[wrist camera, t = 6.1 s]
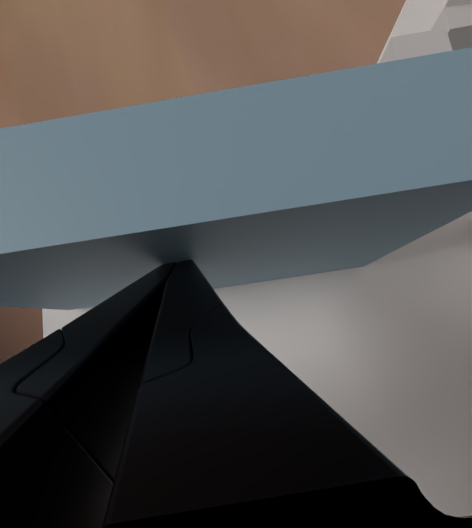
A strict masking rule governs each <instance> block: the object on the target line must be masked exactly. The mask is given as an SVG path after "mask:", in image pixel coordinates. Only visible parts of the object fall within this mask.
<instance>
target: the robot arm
mask: <svg viewBox="0 0 472 528" xmlns="http://www.w3.org/2000/svg"><path fill="white" fill-rule="evenodd" d="M0 528H472V518H459V517H454V516H450V515H445V514H443V513H442V512H441V511H439V510H438V509H436V508H435V507H434V506H433V505H432V504H431V503H430V502H429V501H428V500H427V499H426V498H425V497H424V495H423V494H422V492H421V491H420V489H419V487H418V485H417V484H416V482H415V481H414V480H413V479H411V478H410V477H409V476H407V475H406V474H405V473H404V472H403V471H402V470H401V469H399V468H398V467H397V466H396V465H395V464H394V463H393V462H392V461H391V460H389V459H388V458H387V457H386V456H385V455H384V454H383V453H382V452H381V451H379V450H378V449H377V448H376V447H375V446H374V445H373V444H372V443H371V442H369V441H368V440H367V439H366V438H365V437H364V436H363V435H362V434H361V433H359V432H358V431H357V430H356V429H355V428H354V427H353V426H352V425H351V424H349V423H348V422H347V421H346V420H345V419H344V418H343V417H342V416H341V415H339V414H338V413H337V412H336V411H335V410H334V409H333V408H332V407H331V406H329V405H328V404H327V403H326V402H325V401H324V400H323V399H322V398H321V397H319V396H318V395H317V394H316V393H315V392H314V391H313V390H312V389H311V388H309V387H308V386H307V385H306V384H305V383H304V382H303V381H302V380H301V379H299V378H298V377H297V376H296V375H295V374H294V373H293V372H292V371H291V370H289V369H288V368H287V367H286V366H285V365H284V364H283V363H282V362H281V361H279V360H278V359H277V358H276V357H275V356H274V355H273V354H272V353H271V352H269V351H268V350H267V349H266V348H265V347H264V346H263V345H262V344H261V343H259V342H258V341H257V340H256V339H255V338H254V337H253V336H252V335H251V334H250V333H249V332H248V331H246V330H245V329H244V328H243V327H242V326H241V325H240V324H239V322H238V321H237V320H236V319H235V318H234V316H233V315H232V314H231V313H230V311H229V310H228V308H227V307H226V306H225V305H224V303H223V302H222V301H221V299H220V298H219V296H218V295H217V293H216V292H215V291H214V289H213V288H212V286H211V285H210V283H209V282H208V281H207V279H206V278H205V276H204V275H203V273H202V272H201V271H200V269H199V268H198V266H197V265H196V264H195V262H194V261H193V260H186V261H180V262H178V263H176V262H172V263H166V264H162V265H160V266H159V267H157V268H155V269H154V270H152V271H151V272H149V273H147V274H146V275H144V276H143V277H141V278H140V279H138V280H136V281H135V282H133V283H132V284H130V285H128V286H127V287H125V288H124V289H122V290H121V291H119V292H117V293H116V294H114V295H113V296H111V297H109V298H108V299H106V300H105V301H103V302H101V303H100V304H98V305H97V306H95V307H94V308H92V309H90V310H89V311H87V312H86V313H84V314H82V315H81V316H79V317H78V318H76V319H75V320H73V321H71V322H70V323H68V324H67V325H65V326H63V327H62V330H61V329H58V330H56V331H54V332H53V333H51V334H50V335H48V336H46V337H45V338H43V339H42V340H40V341H38V342H37V343H35V344H33V345H32V346H30V347H28V348H27V349H25V350H23V351H22V352H20V353H19V354H17V355H15V356H13V357H12V358H10V359H8V360H6V361H5V362H3V363H1V364H0Z"/></svg>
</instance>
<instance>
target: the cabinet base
mask: <svg viewBox="0 0 472 528" xmlns="http://www.w3.org/2000/svg"><path fill="white" fill-rule="evenodd" d="M441 28H446V30H447V33H448V37H449V40H450V43H451V47H452V50H459V49H464V48H470V47H472V0H406V1H405V4H404V6H403V8H402V10H401V12H400V14H399V17H398V19H397V21H396V23H395V25H394V27H393V30H392V32H391V34H390V36H389V38H388V40H387V43H386V45H385V47H384V49H383V51H382V53H381V56H380V58H379V60H378V62H377V63H380V60H381V58H382V56H383V54H384V52H385V50H386V48H387V45H388V43H389V41H390V39H391V37H395V36H401V35H407V34H413V33H418V32H424V31H430V30H435V29H441ZM214 291H215V292H216V293H217V295H218V296H219V298H220V299H221V301H222V302H223V303H224V305H225V306H226V307H227V308H228V310H229V311H230V313H231V314H232V315H233V316H234V318H235V319H236V320H237V321H238V322H239V324H240V325H241V326H242V327H243V328H244V329H245V330H246V331H248V332H249V333H250V334H251V335H252V336H253V337H254V338H255V339H256V340H257V341H258V342H259V343H261V344H262V345H263V346H264V347H265V348H266V349H267V350H268V351H269V352H271V353H272V354H273V355H274V356H275V357H276V358H277V359H278V360H279V361H281V362H282V363H283V364H284V365H285V366H286V367H287V368H288V369H289V370H291V371H292V372H293V373H294V374H295V375H296V376H297V377H298V378H299V379H301V380H302V381H303V382H304V383H305V384H306V385H307V386H308V387H309V388H311V389H312V390H313V391H314V392H315V393H316V394H317V395H318V396H319V397H321V398H322V399H323V400H324V401H325V402H326V403H327V404H328V405H329V406H331V407H332V408H333V409H334V410H335V411H336V412H337V413H338V414H339V415H341V416H342V417H343V418H344V419H345V420H346V421H347V422H348V423H349V424H351V425H352V426H353V427H354V428H355V429H356V430H357V431H358V432H359V433H361V434H362V435H363V436H364V437H365V438H366V439H367V440H368V441H369V442H371V443H372V444H373V445H374V446H375V447H376V448H377V449H378V450H379V451H381V452H382V453H383V454H384V455H385V456H386V457H387V458H388V459H389V460H391V461H392V462H393V463H394V464H395V465H396V466H397V467H398V468H399V469H401V470H402V471H403V472H404V473H405V474H406V475H407V476H409V477H410V478H411V479H413V480H414V481H415V482H416V484H417V485H418V487H419V489H420V491H421V492H422V494H423V495H424V497H425V498H426V499H427V500H428V501H429V502H430V503H431V504H432V505H433V506H434V507H435V508H436V509H438V510H439V511H441V512H442V513H443V514H445V515H450V516H454V517H463V516H472V211H471V212H469V213H467V214H465V215H463V216H461V217H459V218H457V219H455V220H454V221H452V222H450V223H448V224H446V225H444V226H442V227H440V228H438V229H436V230H434V231H432V232H430V233H428V234H426V235H424V236H422V237H420V238H418V239H417V240H415V241H413V242H411V243H409V244H407V245H405V246H403V247H401V248H399V249H397V250H395V251H393V252H391V253H389V254H387V255H385V256H383V257H381V258H380V259H378V260H376V261H374V262H372V263H370V264H368V265H366V266H363V267H356V268H350V269H343V270H336V271H330V272H323V273H316V274H309V275H303V276H296V277H289V278H282V279H276V280H269V281H262V282H255V283H249V284H242V285H235V286H228V287H222V288H215V289H214ZM94 307H95V306H94ZM94 307H87V308H80V309H73V310H57V309H42V313H43V338H45V337H46V336H48V335H50V334H51V333H53V332H54V331H56V330H58V329H61V330H62V327H63V326H65V325H67V324H68V323H70V322H71V321H73V320H75V319H76V318H78V317H79V316H81V315H82V314H84V313H86V312H87V311H89V310H90V309H92V308H94Z"/></svg>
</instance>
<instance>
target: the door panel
mask: <svg viewBox="0 0 472 528" xmlns="http://www.w3.org/2000/svg"><path fill="white" fill-rule="evenodd" d="M471 211H472V47H470V48H464V49H459V50H452V47H451V43H450V40H449V37H448V33H447V30H446V28H441V29H435V30H430V31H424V32H418V33H413V34H407V35H401V36H395V37H391V39H390V41H389V43H388V45H387V48H386V50H385V52H384V54H383V56H382V58H381V60H380V63H377V64H372V65H366V66H360V67H354V68H348V69H343V70H337V71H331V72H325V73H320V74H314V75H308V76H302V77H296V78H291V79H285V80H279V81H273V82H267V83H262V84H256V85H250V86H244V87H238V88H233V89H227V90H221V91H215V92H209V93H204V94H198V95H192V96H186V97H180V98H175V99H169V100H163V101H157V102H151V103H146V104H140V105H134V106H128V107H123V108H117V109H111V110H105V111H99V112H94V113H88V114H82V115H76V116H70V117H65V118H59V119H53V120H47V121H41V122H36V123H30V124H24V125H18V126H12V127H7V128H1V129H0V306H4V307H22V308H40V309H57V310H73V309H80V308H87V307H94V306H97V305H98V304H100V303H101V302H103V301H105V300H106V299H108V298H109V297H111V296H113V295H114V294H116V293H117V292H119V291H121V290H122V289H124V288H125V287H127V286H128V285H130V284H132V283H133V282H135V281H136V280H138V279H140V278H141V277H143V276H144V275H146V274H147V273H149V272H151V271H152V270H154V269H155V268H157V267H159V266H160V265H162V264H166V263H172V262H176V263H178V262H180V261H186V260H193V261H194V262H195V264H196V265H197V266H198V268H199V269H200V271H201V272H202V273H203V275H204V276H205V278H206V279H207V281H208V282H209V283H210V285H211V286H212V288H213V289H215V288H222V287H228V286H235V285H242V284H249V283H255V282H262V281H269V280H276V279H282V278H289V277H296V276H303V275H309V274H316V273H323V272H330V271H336V270H343V269H350V268H356V267H363V266H366V265H368V264H370V263H372V262H374V261H376V260H378V259H380V258H381V257H383V256H385V255H387V254H389V253H391V252H393V251H395V250H397V249H399V248H401V247H403V246H405V245H407V244H409V243H411V242H413V241H415V240H417V239H418V238H420V237H422V236H424V235H426V234H428V233H430V232H432V231H434V230H436V229H438V228H440V227H442V226H444V225H446V224H448V223H450V222H452V221H454V220H455V219H457V218H459V217H461V216H463V215H465V214H467V213H469V212H471Z"/></svg>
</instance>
